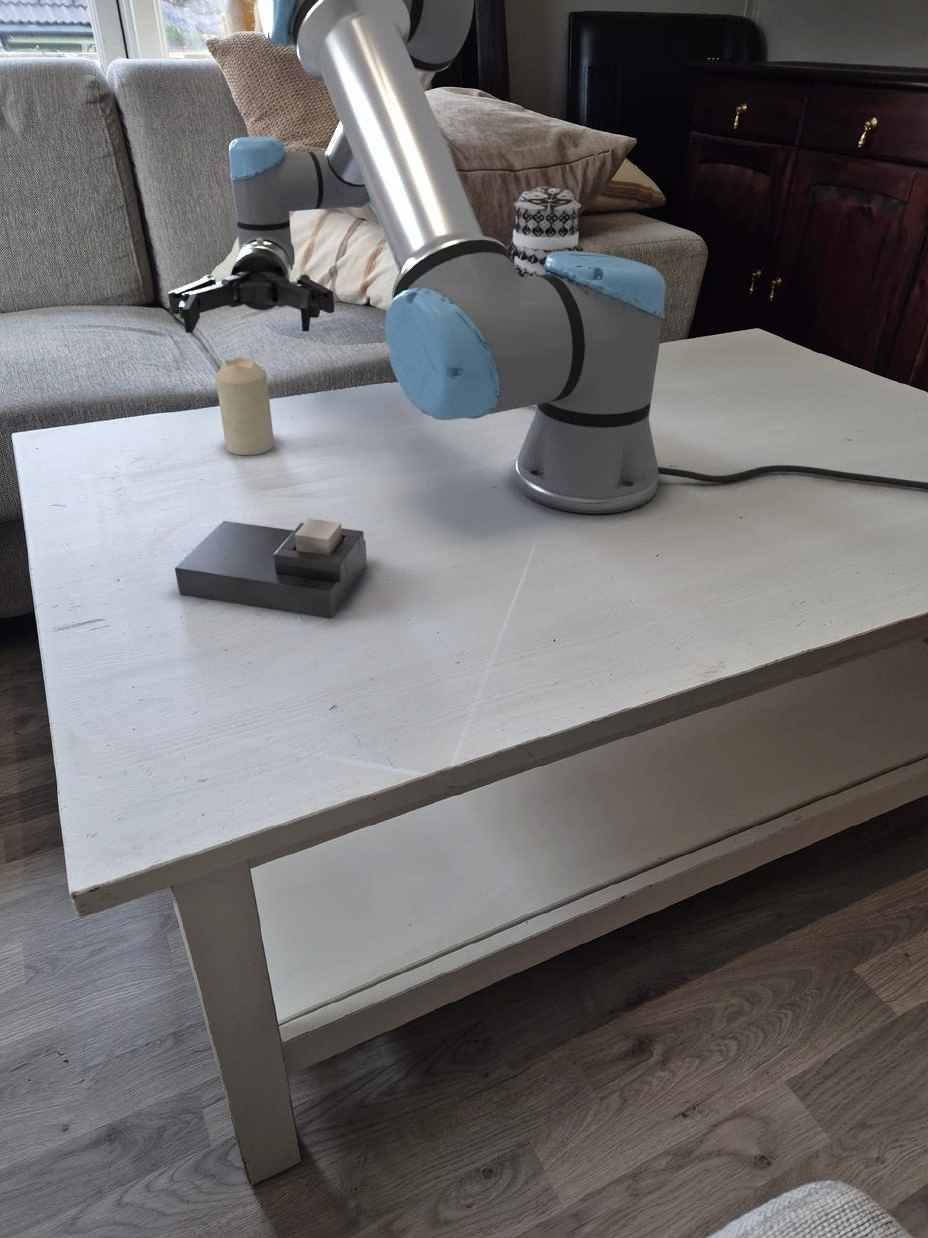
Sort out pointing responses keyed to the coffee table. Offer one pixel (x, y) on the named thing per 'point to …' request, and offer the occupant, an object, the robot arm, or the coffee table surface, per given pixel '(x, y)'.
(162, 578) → the coffee table surface
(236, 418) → the candle
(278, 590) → the grey stepped base
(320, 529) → the key
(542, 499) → the robot arm
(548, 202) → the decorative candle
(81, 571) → the coffee table surface
